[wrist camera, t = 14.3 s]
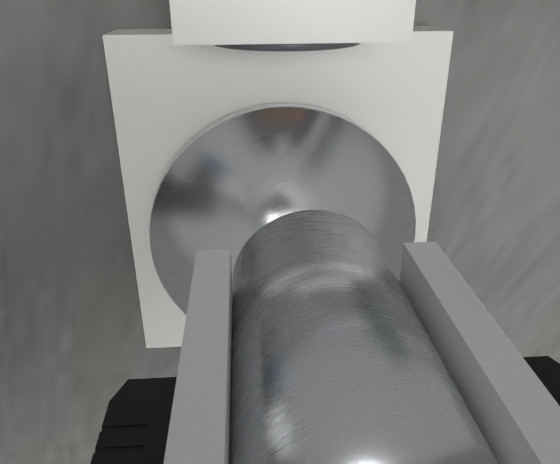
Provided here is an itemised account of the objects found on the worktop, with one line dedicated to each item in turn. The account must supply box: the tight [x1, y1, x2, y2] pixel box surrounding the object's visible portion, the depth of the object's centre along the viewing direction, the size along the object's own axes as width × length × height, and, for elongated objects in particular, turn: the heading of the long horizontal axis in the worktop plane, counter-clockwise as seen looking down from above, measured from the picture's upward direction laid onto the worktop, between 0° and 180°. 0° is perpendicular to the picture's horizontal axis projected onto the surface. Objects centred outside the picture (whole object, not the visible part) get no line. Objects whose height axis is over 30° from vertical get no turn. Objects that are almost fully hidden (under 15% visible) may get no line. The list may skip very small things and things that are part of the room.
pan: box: [149, 103, 416, 315], centre depth 22 cm, size 11×11×1 cm
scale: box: [102, 0, 454, 348], centre depth 21 cm, size 13×16×7 cm
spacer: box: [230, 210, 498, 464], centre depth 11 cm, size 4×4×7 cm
